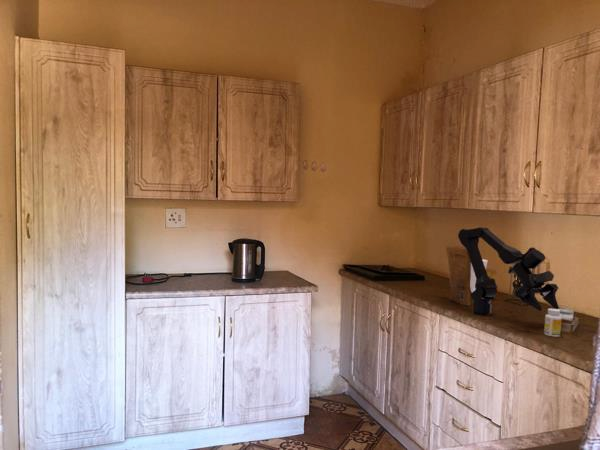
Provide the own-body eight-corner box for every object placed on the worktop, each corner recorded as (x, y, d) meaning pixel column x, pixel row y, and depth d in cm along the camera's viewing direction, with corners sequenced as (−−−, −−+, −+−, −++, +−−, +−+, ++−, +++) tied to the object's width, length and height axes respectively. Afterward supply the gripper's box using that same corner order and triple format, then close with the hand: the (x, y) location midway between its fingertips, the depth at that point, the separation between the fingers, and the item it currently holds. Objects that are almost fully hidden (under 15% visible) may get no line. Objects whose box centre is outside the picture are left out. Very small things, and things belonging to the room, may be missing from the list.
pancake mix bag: (462, 306, 213) (465, 247, 211) (441, 297, 231) (444, 243, 230) (475, 306, 214) (478, 247, 213) (453, 297, 233) (456, 243, 231)
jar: (555, 324, 183) (556, 309, 183) (557, 321, 188) (558, 307, 188) (571, 327, 180) (572, 312, 180) (573, 324, 184) (574, 310, 184)
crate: (547, 329, 177) (547, 320, 177) (554, 322, 190) (554, 313, 190) (572, 334, 172) (573, 325, 172) (578, 326, 185) (578, 317, 184)
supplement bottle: (542, 334, 170) (543, 309, 169) (546, 332, 174) (547, 307, 173) (558, 337, 166) (560, 312, 166) (561, 335, 170) (563, 310, 170)
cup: (482, 290, 256) (484, 259, 255) (488, 294, 246) (490, 261, 245) (463, 289, 257) (464, 258, 256) (468, 293, 247) (470, 260, 246)
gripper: (522, 264, 171) (547, 299, 162) (555, 263, 179) (581, 296, 170) (504, 281, 179) (527, 315, 169) (536, 279, 187) (560, 312, 177)
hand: (549, 309), depth 171 cm, fingers open, 9 cm apart
